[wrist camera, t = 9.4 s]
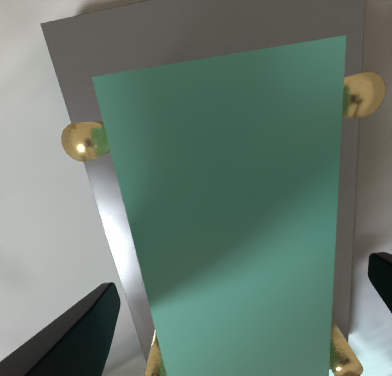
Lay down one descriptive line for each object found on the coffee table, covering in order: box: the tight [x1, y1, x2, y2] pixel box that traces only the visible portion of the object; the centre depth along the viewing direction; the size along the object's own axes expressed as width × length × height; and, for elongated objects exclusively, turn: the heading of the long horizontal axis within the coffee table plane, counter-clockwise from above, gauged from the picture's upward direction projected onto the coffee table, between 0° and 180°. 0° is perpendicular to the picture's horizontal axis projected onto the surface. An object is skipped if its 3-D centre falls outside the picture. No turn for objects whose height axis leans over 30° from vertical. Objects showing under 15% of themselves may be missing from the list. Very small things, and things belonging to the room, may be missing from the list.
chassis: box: [41, 0, 386, 376], centre depth 11 cm, size 20×12×4 cm, turn 9°
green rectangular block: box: [92, 35, 346, 376], centre depth 9 cm, size 14×6×4 cm, turn 8°
